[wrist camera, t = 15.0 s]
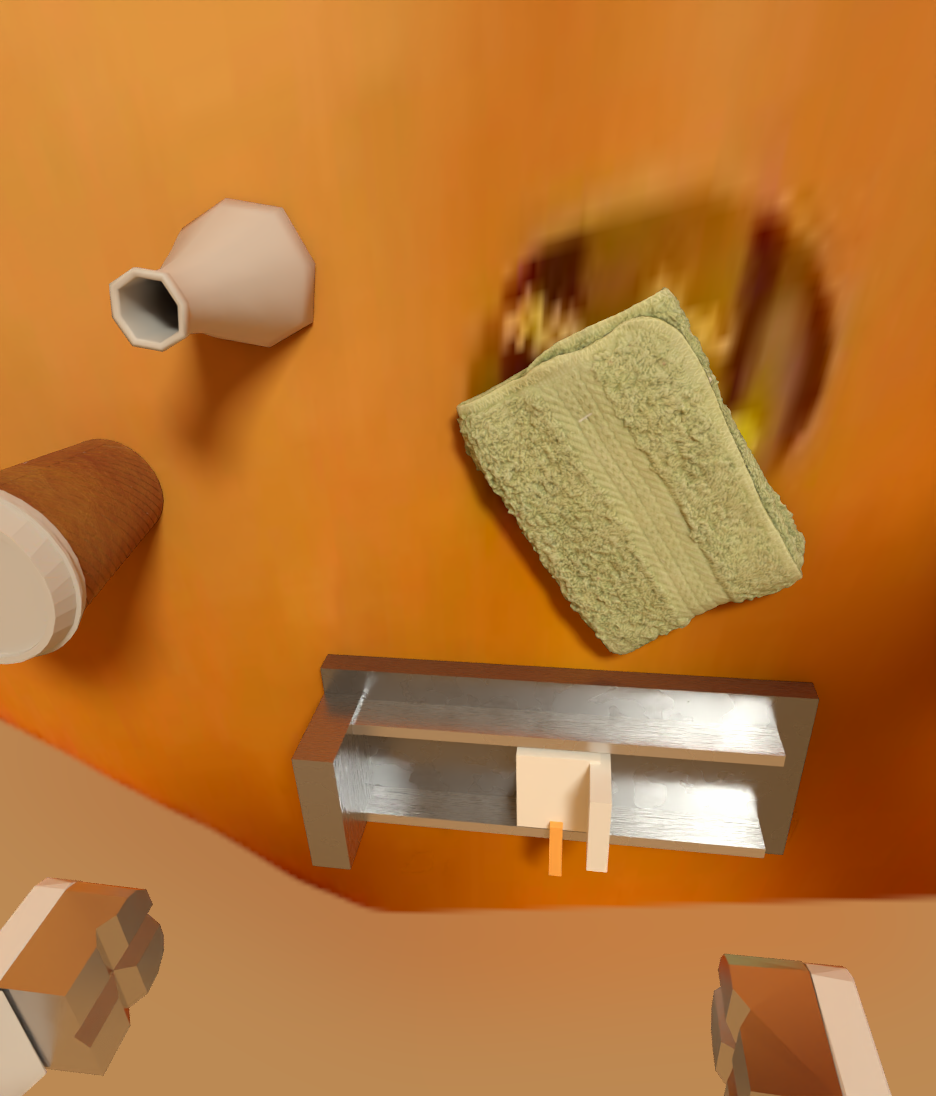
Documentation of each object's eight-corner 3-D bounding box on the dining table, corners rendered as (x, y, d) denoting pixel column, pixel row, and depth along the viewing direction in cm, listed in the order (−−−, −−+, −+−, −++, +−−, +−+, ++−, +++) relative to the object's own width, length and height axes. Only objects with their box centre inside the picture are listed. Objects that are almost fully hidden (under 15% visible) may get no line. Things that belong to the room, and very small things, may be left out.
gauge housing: (812, 682, 44) (851, 775, 37) (778, 836, 50) (806, 939, 43) (327, 654, 48) (286, 732, 42) (350, 798, 54) (317, 886, 48)
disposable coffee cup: (149, 398, 41) (-1, 479, 31) (212, 546, 46) (99, 662, 35) (11, 427, 44) (-172, 512, 33) (83, 566, 48) (-60, 680, 37)
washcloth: (665, 268, 35) (672, 278, 32) (814, 555, 40) (830, 585, 38) (441, 407, 40) (430, 426, 37) (602, 646, 45) (602, 679, 42)
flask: (335, 336, 38) (259, 388, 30) (210, 356, 40) (103, 412, 31) (296, 183, 35) (198, 191, 26) (162, 211, 37) (28, 228, 28)
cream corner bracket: (609, 734, 45) (612, 801, 41) (602, 844, 50) (603, 915, 45) (519, 727, 46) (511, 792, 42) (520, 836, 51) (513, 905, 46)
